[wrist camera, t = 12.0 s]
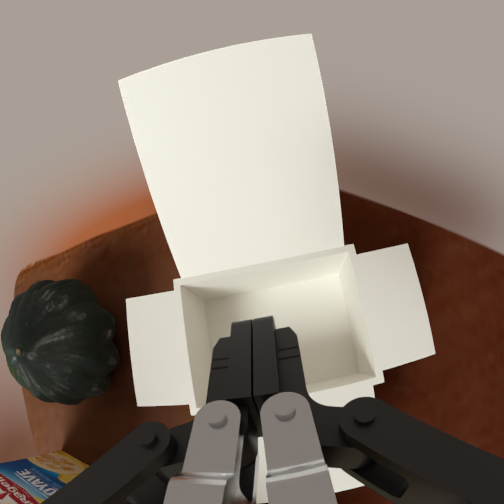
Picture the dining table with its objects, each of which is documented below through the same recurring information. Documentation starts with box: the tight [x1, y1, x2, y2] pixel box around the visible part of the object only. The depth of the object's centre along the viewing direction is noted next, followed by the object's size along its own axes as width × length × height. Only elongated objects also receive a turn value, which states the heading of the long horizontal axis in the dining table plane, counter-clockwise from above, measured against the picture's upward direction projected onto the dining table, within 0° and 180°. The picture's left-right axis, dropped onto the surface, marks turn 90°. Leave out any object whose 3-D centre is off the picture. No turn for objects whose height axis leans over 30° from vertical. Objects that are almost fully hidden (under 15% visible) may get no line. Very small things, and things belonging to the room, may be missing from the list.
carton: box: [126, 243, 435, 504], centre depth 27 cm, size 26×21×8 cm
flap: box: [118, 34, 344, 279], centre depth 22 cm, size 14×1×17 cm
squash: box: [1, 279, 120, 405], centre depth 29 cm, size 14×15×15 cm
